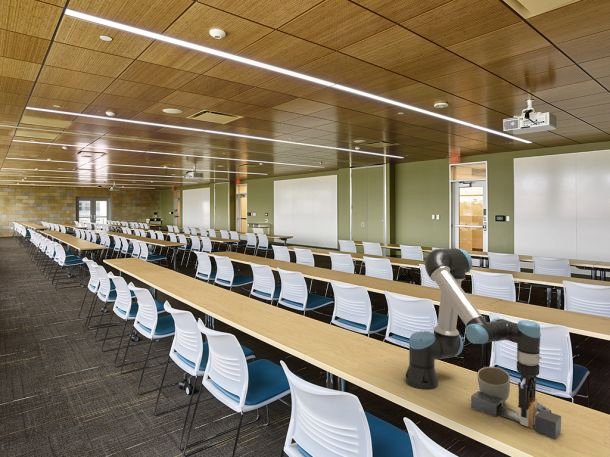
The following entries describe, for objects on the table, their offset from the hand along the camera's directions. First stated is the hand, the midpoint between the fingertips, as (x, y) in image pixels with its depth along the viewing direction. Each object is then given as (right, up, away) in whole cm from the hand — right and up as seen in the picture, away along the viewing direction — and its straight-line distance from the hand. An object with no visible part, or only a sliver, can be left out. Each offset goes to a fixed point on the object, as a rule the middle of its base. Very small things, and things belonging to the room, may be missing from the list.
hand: (526, 422), depth 147 cm
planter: (-3, +1, +18) cm, 18 cm away
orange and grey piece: (-1, -1, +1) cm, 2 cm away
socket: (+5, -1, -5) cm, 7 cm away
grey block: (-10, 0, +11) cm, 15 cm away
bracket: (+12, -1, +13) cm, 17 cm away
